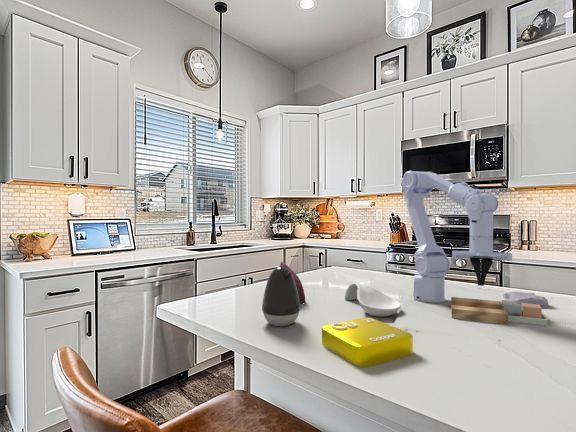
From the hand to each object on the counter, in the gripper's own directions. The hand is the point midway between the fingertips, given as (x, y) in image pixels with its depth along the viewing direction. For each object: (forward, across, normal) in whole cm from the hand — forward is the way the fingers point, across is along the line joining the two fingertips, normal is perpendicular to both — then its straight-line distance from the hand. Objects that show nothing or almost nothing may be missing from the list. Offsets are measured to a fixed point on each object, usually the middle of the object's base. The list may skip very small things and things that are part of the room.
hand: (480, 285), depth 97 cm
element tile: (+10, -25, -35) cm, 44 cm away
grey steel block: (+8, +7, 0) cm, 11 cm away
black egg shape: (+10, -49, -27) cm, 57 cm away
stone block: (+10, +13, +20) cm, 25 cm away
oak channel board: (+9, -1, 0) cm, 9 cm away
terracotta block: (+8, +12, 0) cm, 15 cm away
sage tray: (+9, +10, 0) cm, 14 cm away
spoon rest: (+10, -31, -3) cm, 32 cm away
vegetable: (+10, -56, -6) cm, 57 cm away
